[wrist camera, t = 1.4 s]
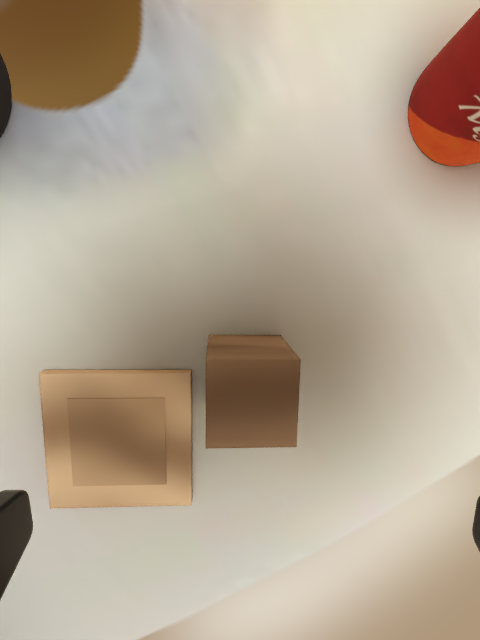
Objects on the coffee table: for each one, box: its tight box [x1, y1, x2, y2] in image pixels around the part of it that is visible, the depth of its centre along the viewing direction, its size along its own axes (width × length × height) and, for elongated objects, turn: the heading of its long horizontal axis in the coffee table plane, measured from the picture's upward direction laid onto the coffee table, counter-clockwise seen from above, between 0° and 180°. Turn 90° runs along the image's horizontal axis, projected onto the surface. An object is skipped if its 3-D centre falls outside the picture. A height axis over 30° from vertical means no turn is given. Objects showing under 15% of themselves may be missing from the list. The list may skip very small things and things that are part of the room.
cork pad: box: [39, 370, 192, 508], centre depth 20 cm, size 8×8×1 cm
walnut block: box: [206, 335, 300, 448], centre depth 18 cm, size 4×4×5 cm
